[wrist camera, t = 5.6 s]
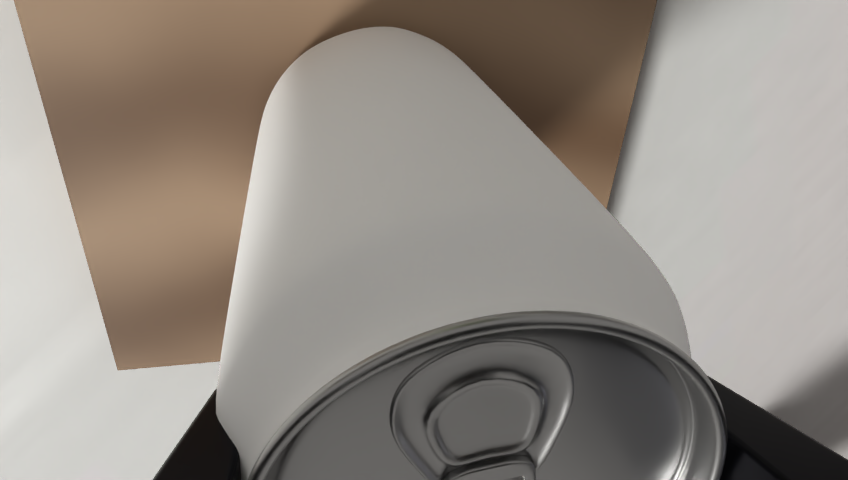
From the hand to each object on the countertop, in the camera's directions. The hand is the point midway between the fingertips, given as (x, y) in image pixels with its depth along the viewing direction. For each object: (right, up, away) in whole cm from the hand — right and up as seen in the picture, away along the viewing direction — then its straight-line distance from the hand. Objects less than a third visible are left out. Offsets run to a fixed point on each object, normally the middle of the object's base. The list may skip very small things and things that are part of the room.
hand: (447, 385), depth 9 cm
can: (-2, +5, +8) cm, 10 cm away
